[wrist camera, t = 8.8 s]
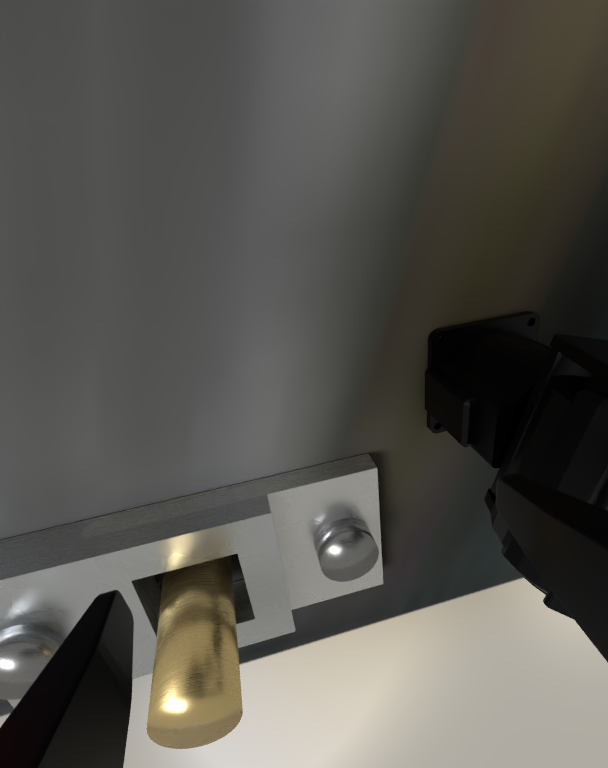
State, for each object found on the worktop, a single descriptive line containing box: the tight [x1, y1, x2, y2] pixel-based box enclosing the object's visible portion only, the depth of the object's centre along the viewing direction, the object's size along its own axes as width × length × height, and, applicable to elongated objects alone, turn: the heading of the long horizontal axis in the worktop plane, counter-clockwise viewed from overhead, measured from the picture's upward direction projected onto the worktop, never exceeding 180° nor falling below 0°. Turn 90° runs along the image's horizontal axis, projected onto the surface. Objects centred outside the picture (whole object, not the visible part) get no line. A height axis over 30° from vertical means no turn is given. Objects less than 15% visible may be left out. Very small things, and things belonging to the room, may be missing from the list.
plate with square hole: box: [0, 453, 383, 708], centre depth 24 cm, size 23×10×4 cm, turn 97°
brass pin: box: [147, 555, 242, 749], centre depth 22 cm, size 4×4×9 cm
